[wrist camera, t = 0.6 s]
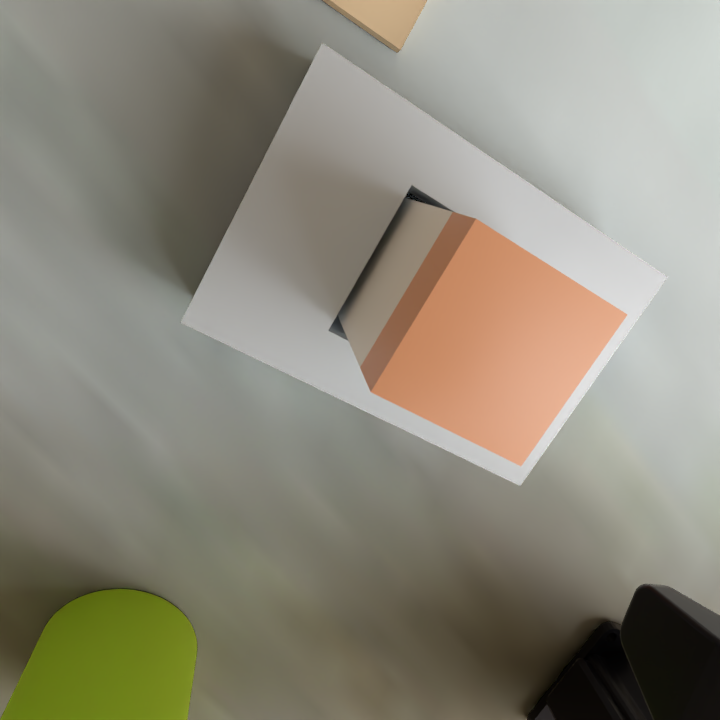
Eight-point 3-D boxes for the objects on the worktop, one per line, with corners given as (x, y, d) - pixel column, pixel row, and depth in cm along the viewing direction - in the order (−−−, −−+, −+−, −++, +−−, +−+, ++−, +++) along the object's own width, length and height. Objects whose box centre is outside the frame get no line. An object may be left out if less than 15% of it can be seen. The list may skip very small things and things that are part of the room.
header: (612, 260, 20) (667, 277, 17) (488, 444, 22) (520, 485, 19) (313, 61, 17) (322, 42, 14) (193, 297, 19) (180, 322, 16)
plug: (491, 255, 20) (627, 314, 12) (429, 353, 20) (521, 466, 13) (392, 193, 18) (475, 218, 11) (331, 301, 19) (370, 392, 12)
